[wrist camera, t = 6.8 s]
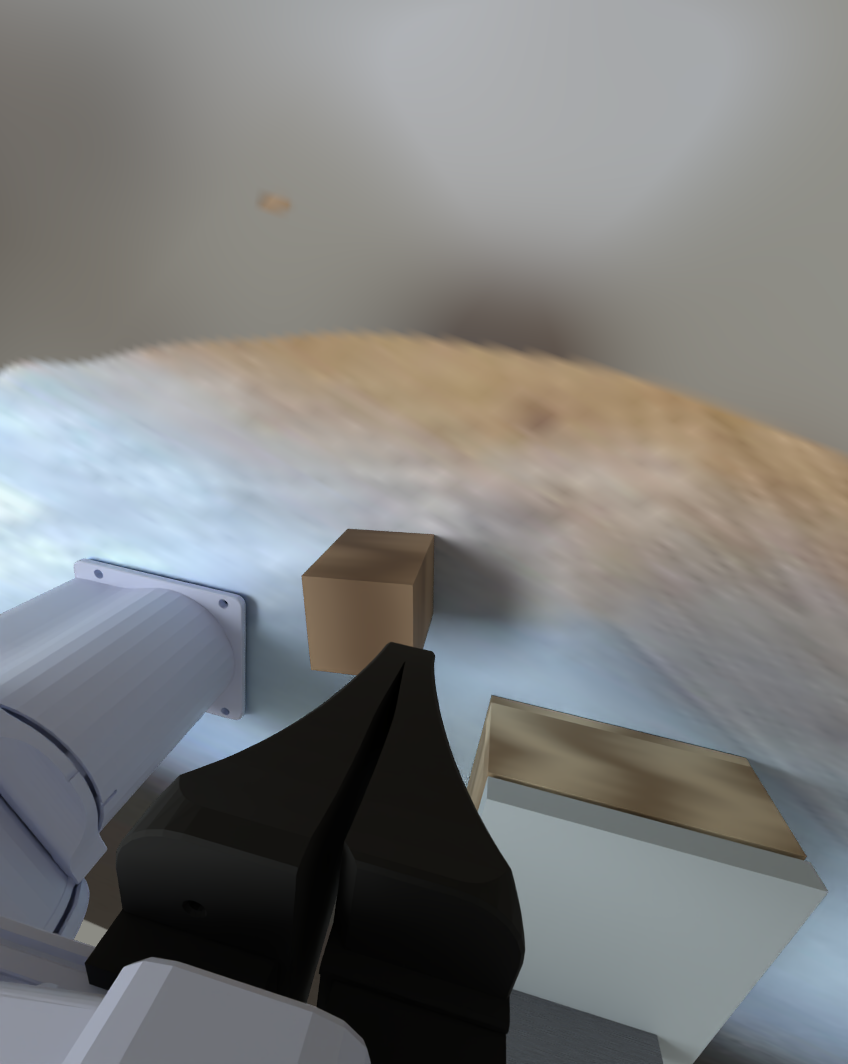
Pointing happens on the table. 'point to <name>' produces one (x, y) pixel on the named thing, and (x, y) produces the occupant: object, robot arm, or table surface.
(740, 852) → the toolbox lid
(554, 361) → the table surface
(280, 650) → the table surface
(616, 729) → the brown piece
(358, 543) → the small brown block
